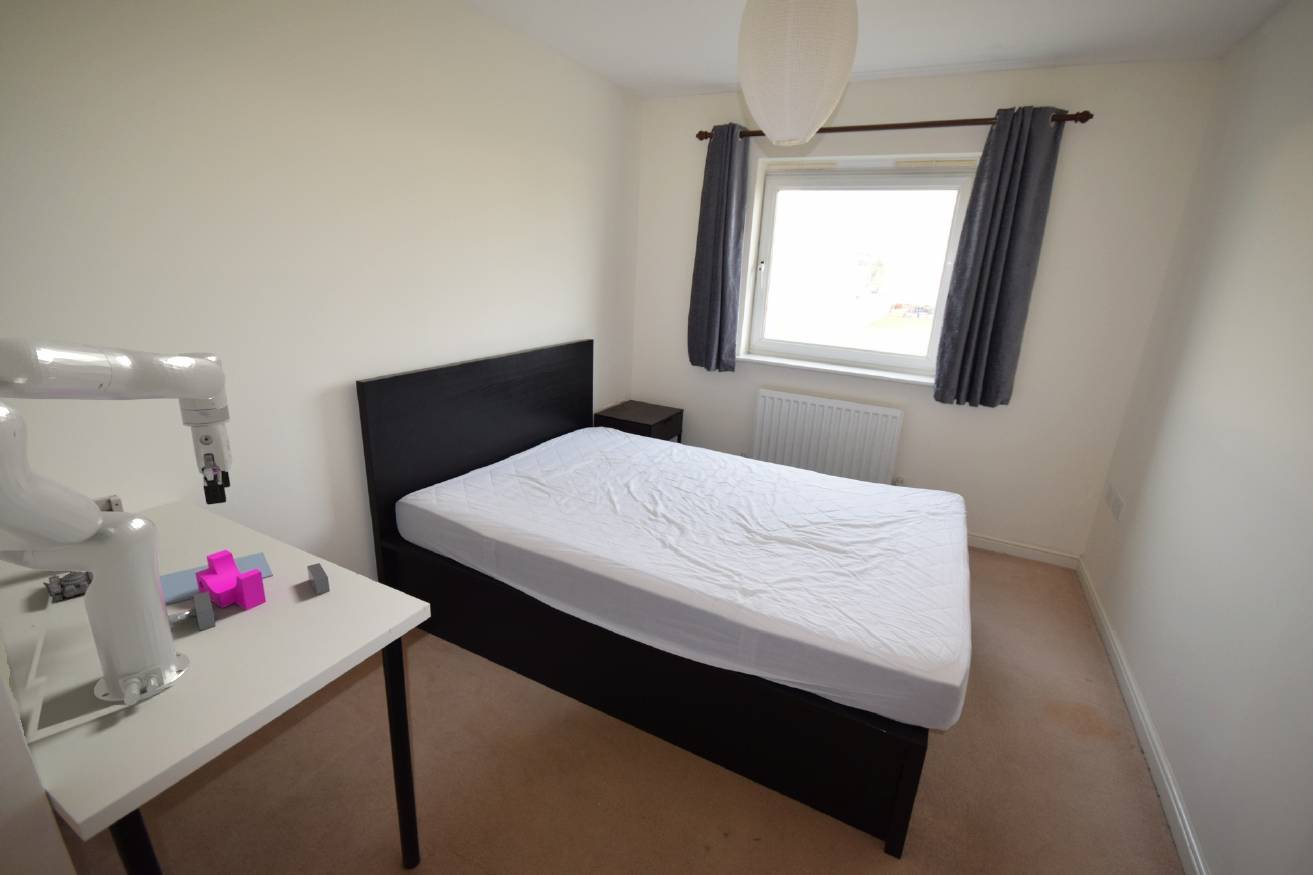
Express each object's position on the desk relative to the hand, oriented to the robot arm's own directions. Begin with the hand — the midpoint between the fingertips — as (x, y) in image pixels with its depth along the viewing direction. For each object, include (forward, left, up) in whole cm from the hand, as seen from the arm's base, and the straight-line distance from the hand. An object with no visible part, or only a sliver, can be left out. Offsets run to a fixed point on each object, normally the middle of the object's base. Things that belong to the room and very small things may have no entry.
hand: (219, 495), depth 118 cm
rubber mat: (+11, +4, -24) cm, 26 cm away
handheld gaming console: (+37, +22, -24) cm, 49 cm away
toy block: (0, +1, -24) cm, 24 cm away
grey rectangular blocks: (-7, -4, -24) cm, 25 cm away
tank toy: (+24, +26, -24) cm, 43 cm away
